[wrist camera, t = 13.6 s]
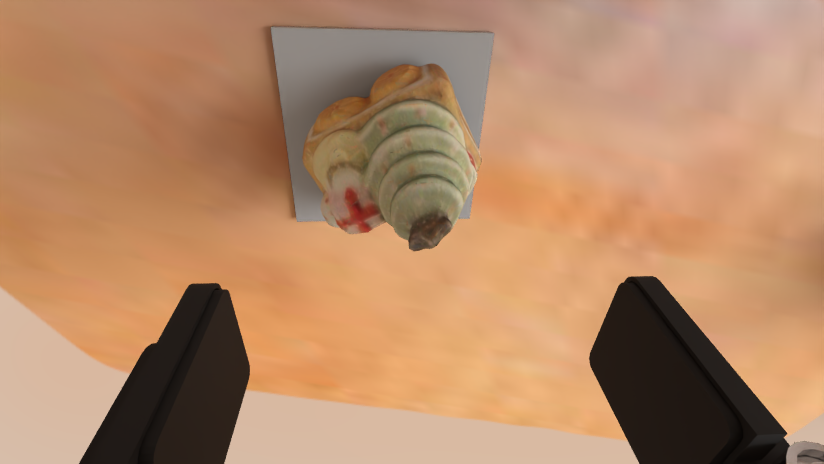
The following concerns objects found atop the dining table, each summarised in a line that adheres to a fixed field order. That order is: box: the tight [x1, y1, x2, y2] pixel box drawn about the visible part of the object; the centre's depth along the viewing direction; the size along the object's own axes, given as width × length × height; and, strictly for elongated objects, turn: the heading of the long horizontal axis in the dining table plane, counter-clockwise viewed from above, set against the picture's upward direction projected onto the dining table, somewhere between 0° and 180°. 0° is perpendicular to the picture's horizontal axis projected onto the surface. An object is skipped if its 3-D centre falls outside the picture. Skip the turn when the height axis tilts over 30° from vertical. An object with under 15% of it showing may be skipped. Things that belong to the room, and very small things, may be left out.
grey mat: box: [271, 26, 494, 222], centre depth 22 cm, size 10×10×1 cm
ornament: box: [302, 64, 482, 251], centre depth 17 cm, size 8×6×10 cm
